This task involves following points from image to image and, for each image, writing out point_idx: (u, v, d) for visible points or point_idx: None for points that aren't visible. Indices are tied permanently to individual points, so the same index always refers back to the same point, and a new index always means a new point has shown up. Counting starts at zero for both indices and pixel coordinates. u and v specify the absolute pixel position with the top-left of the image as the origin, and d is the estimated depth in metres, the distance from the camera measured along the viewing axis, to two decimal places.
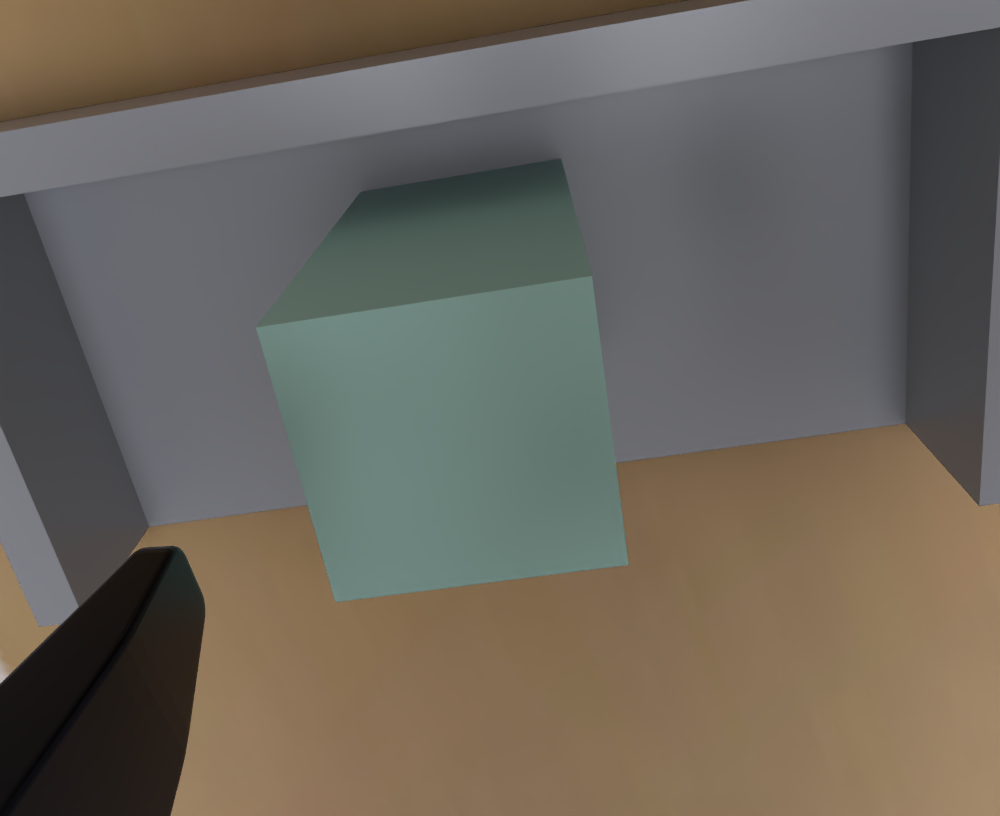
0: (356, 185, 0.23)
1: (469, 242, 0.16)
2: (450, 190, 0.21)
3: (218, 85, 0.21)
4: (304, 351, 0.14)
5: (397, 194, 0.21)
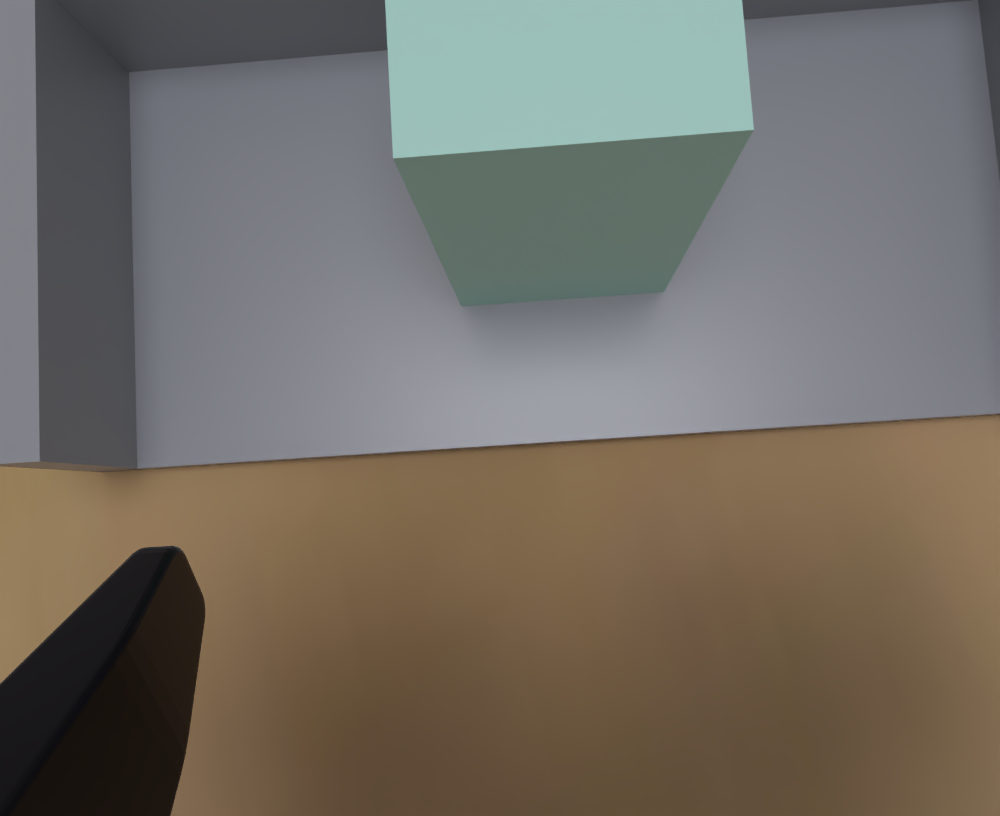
0: None
1: None
2: None
3: None
4: None
5: None
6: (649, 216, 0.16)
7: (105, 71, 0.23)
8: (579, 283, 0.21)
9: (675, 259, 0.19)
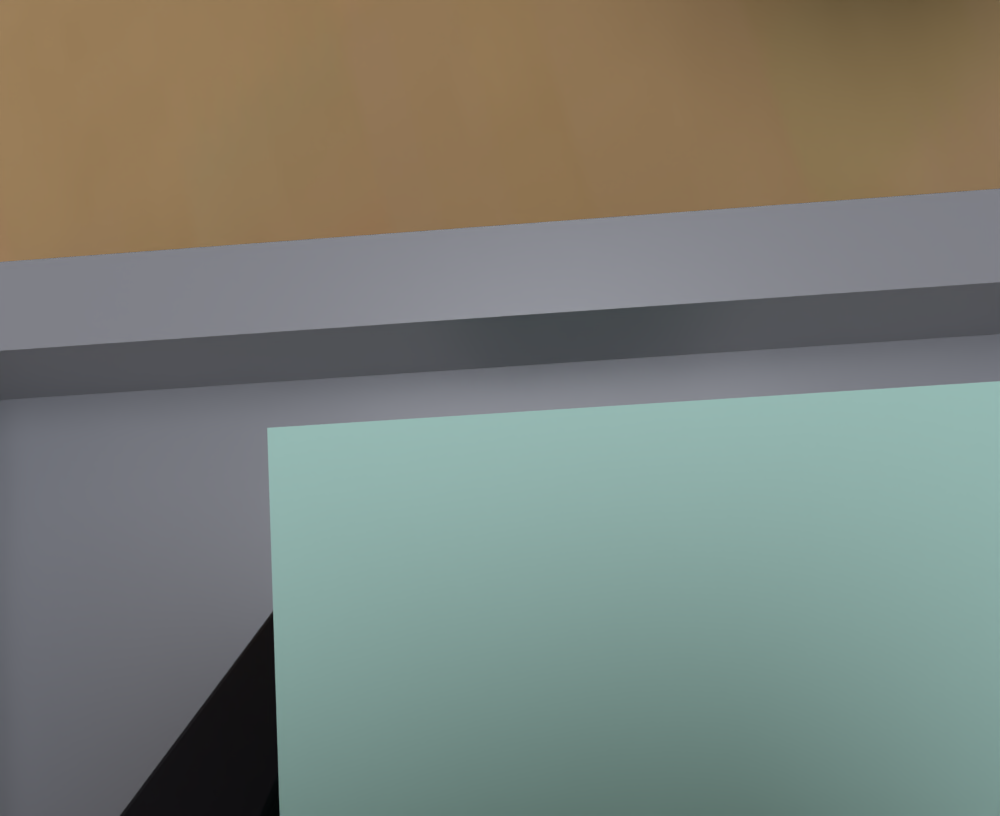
0: None
1: None
2: None
3: None
4: (362, 495, 0.06)
5: None
6: None
7: None
8: None
9: None
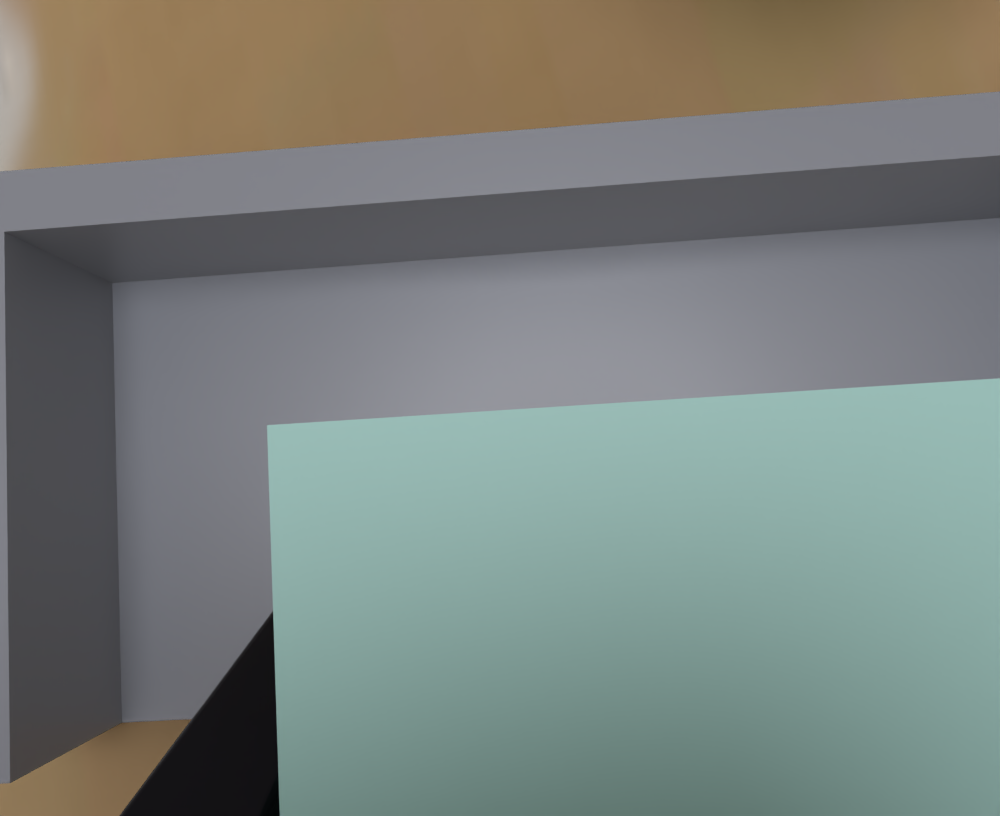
0: (456, 326, 0.22)
1: None
2: None
3: None
4: (362, 492, 0.06)
5: None
6: None
7: (85, 296, 0.21)
8: None
9: None
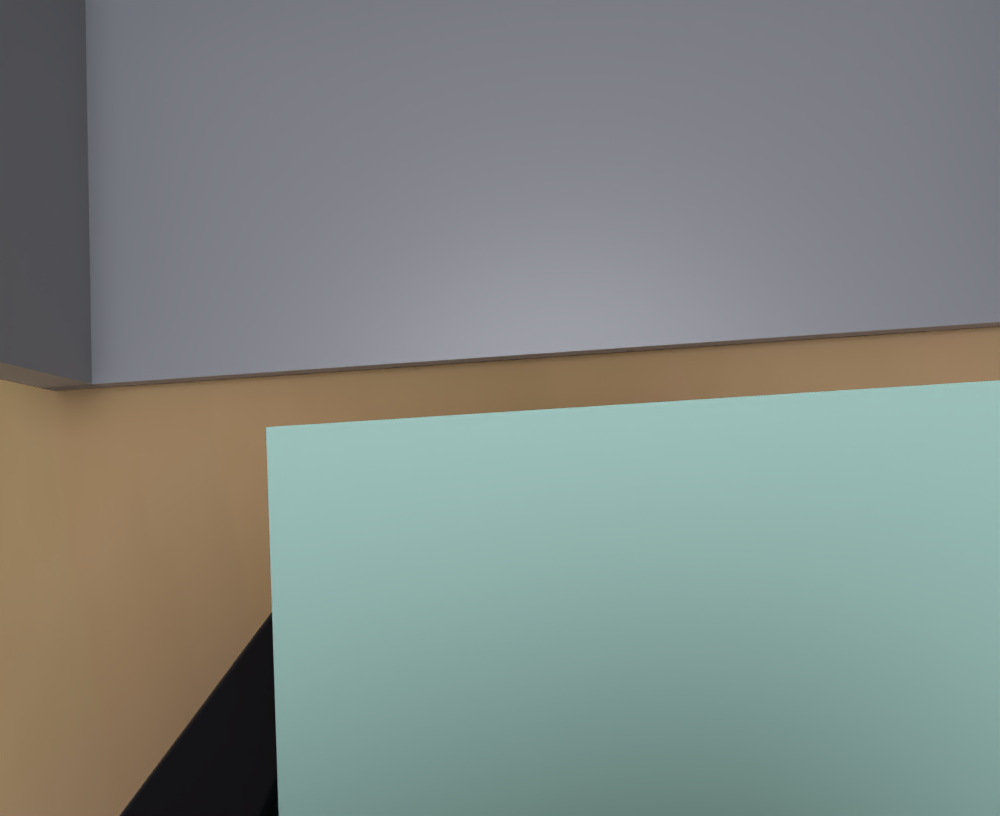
0: None
1: None
2: None
3: None
4: (361, 496, 0.06)
5: None
6: None
7: None
8: None
9: None
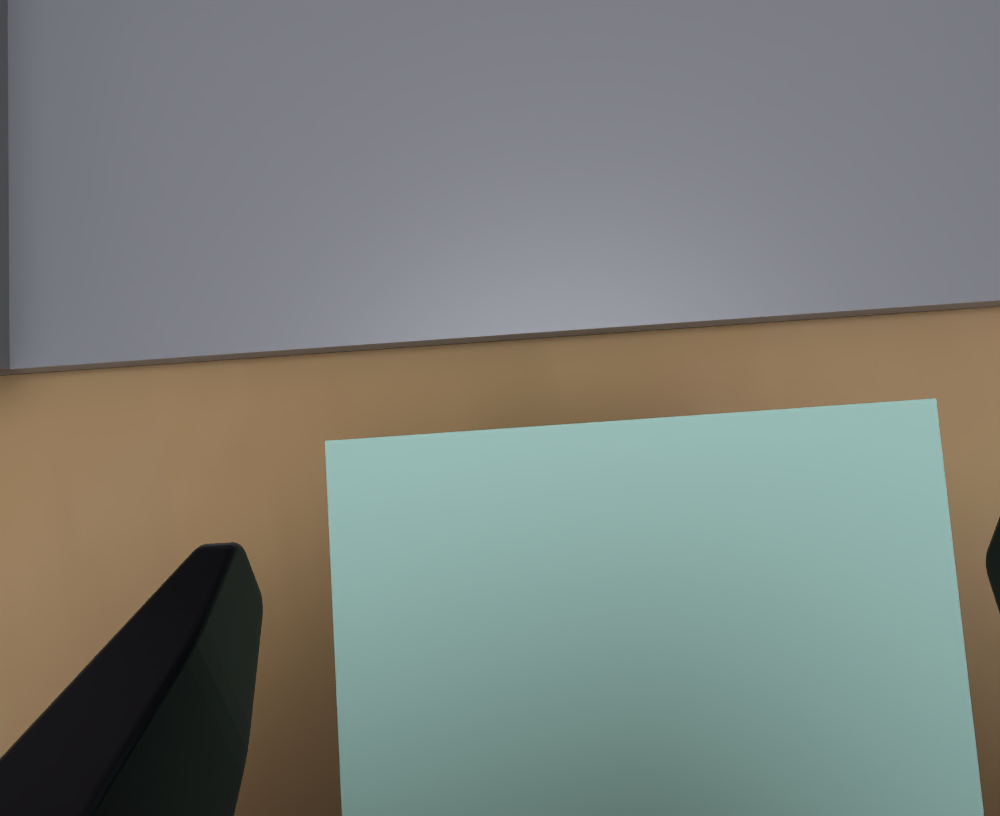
0: None
1: None
2: None
3: None
4: (401, 495, 0.08)
5: None
6: None
7: None
8: None
9: None
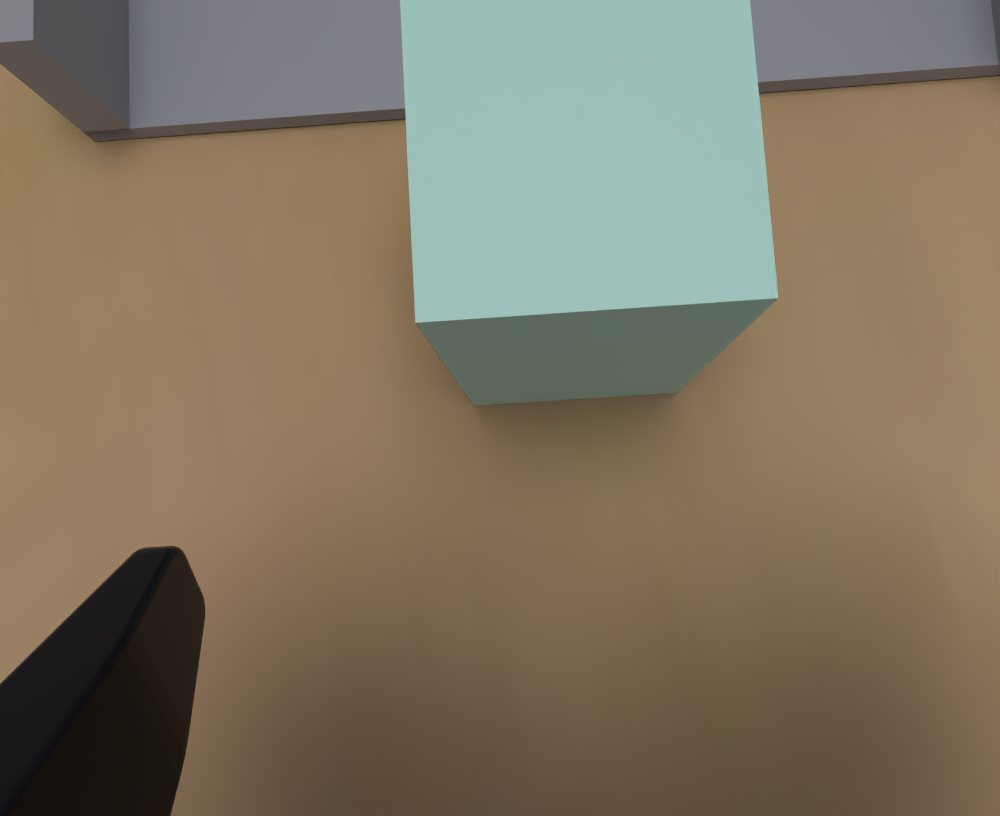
0: None
1: None
2: None
3: None
4: (443, 14, 0.13)
5: None
6: (667, 350, 0.16)
7: None
8: (593, 390, 0.21)
9: (690, 374, 0.19)
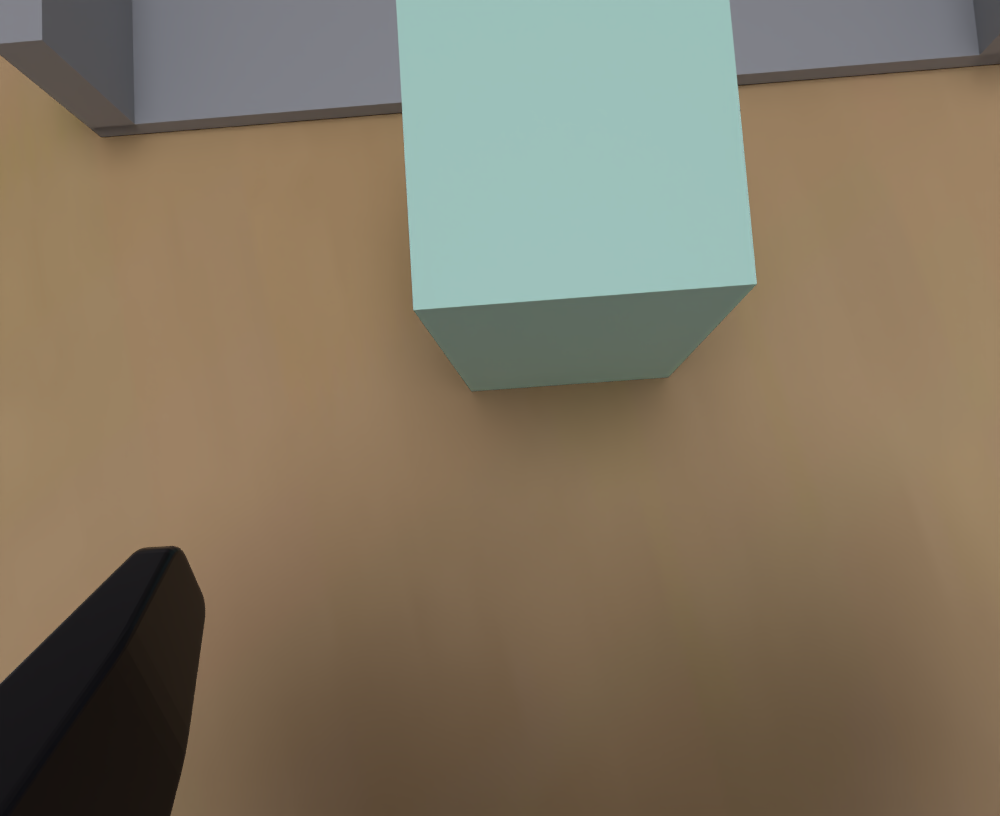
0: None
1: None
2: None
3: None
4: (437, 16, 0.14)
5: None
6: (655, 334, 0.17)
7: None
8: (586, 374, 0.22)
9: (680, 358, 0.20)
